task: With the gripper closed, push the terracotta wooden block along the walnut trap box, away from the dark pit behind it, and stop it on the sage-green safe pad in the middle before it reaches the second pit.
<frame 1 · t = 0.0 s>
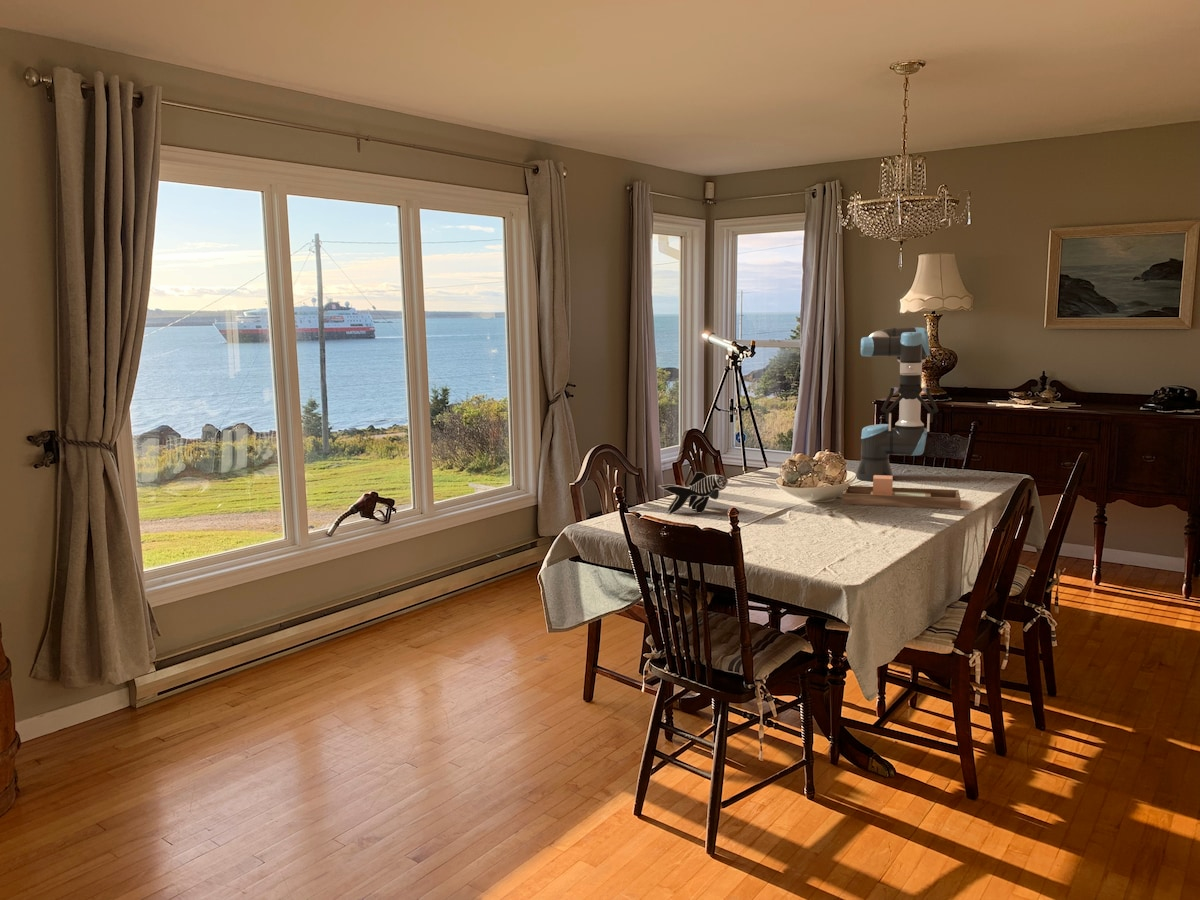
hand: (908, 431, 336), 28 cm above the table, fingers open, 13 cm apart
trap box: (900, 502, 344), on the table
block: (882, 494, 346), point 2 cm above the table, touching trap box
decorative fish: (694, 512, 337), on the table
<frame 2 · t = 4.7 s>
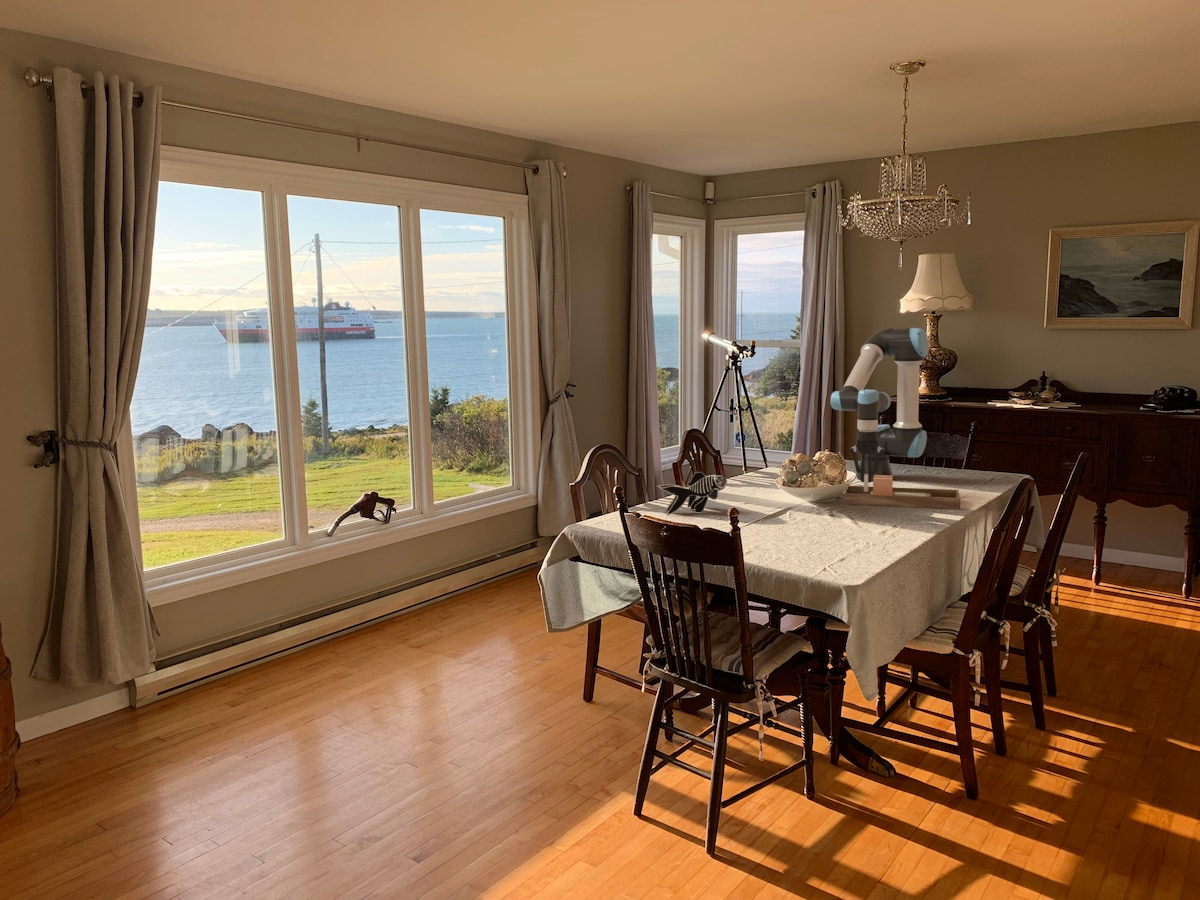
hand: (866, 490, 348), 4 cm above the table, fingers closed
block: (882, 494, 346), point 3 cm above the table, touching gripper, trap box
everything else where it was.
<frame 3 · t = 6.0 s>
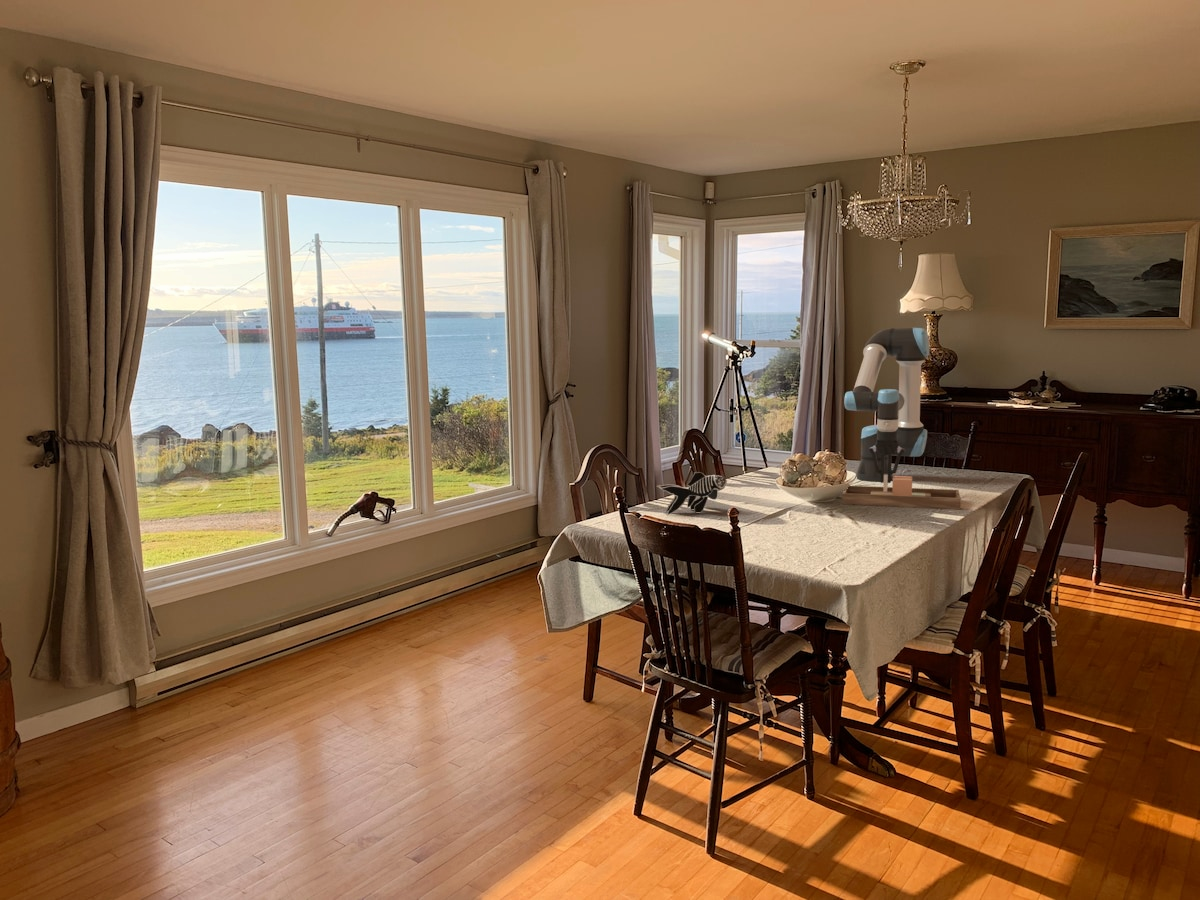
hand: (885, 491, 345), 4 cm above the table, fingers closed
block: (901, 495, 343), point 3 cm above the table, touching gripper, trap box
everything else where it was.
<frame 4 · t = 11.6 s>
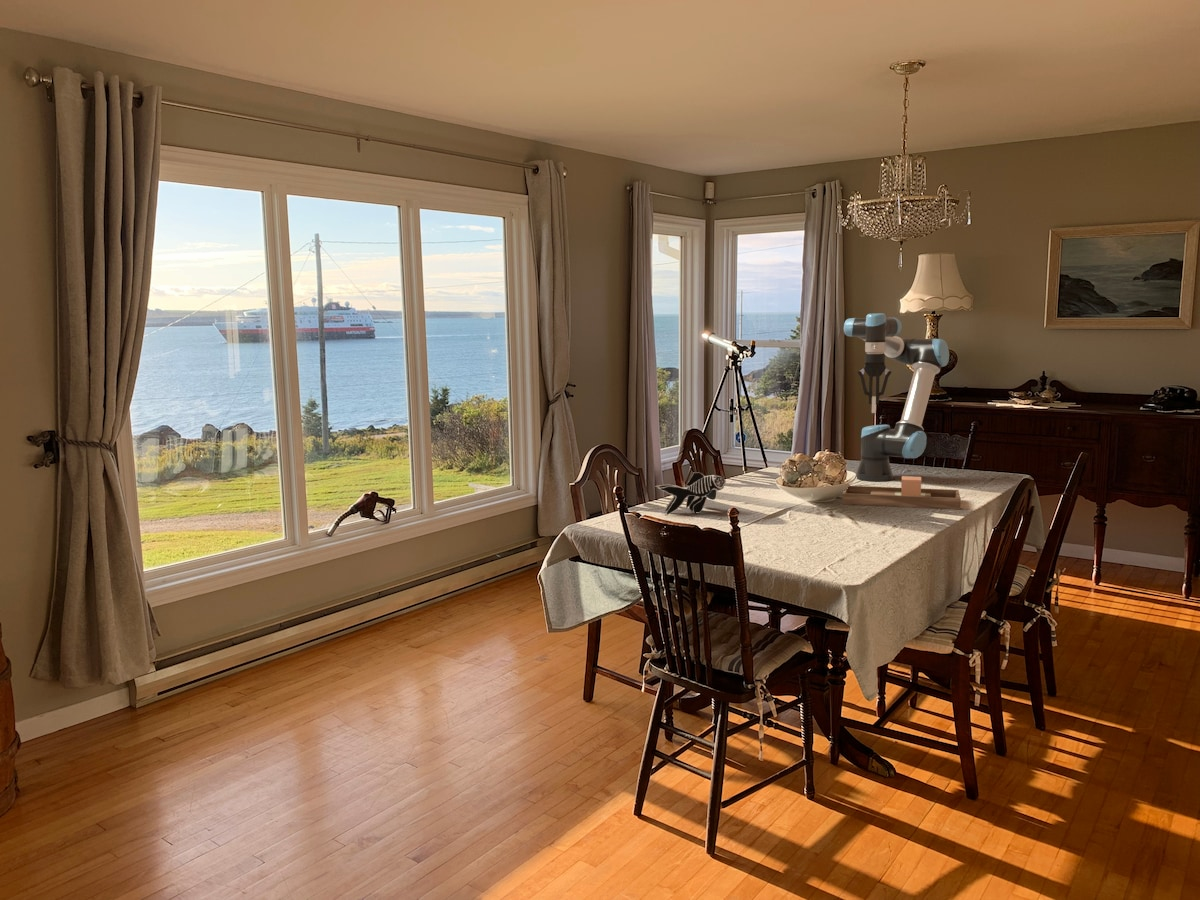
hand: (873, 412, 358), 32 cm above the table, fingers closed
block: (910, 496, 342), point 2 cm above the table, touching trap box
at the end: block inside the target area on the trap box (0.4 cm from its centre), point 2.5 cm above the trap box's base; block tilted 0°; block moved 10.3 cm from its start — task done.
